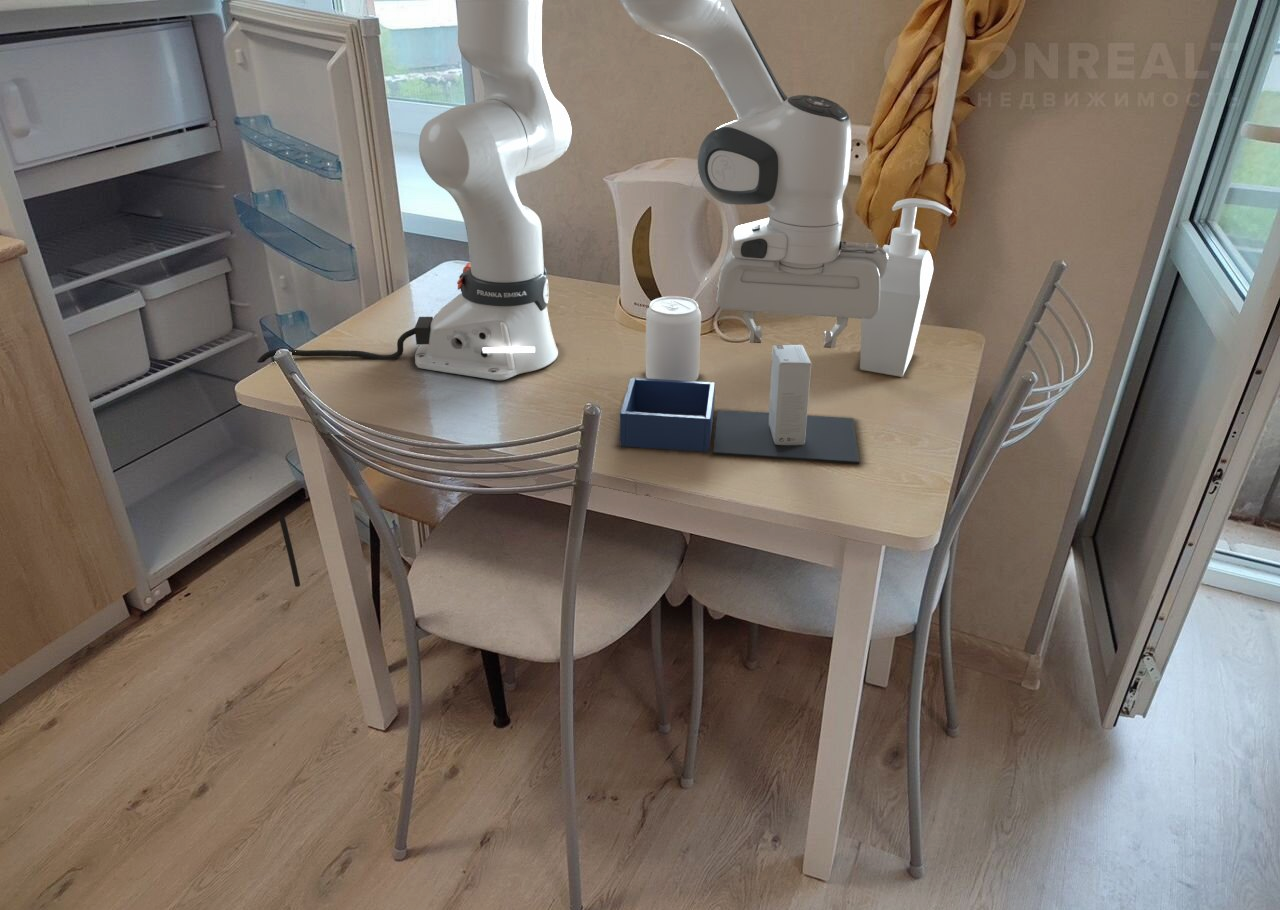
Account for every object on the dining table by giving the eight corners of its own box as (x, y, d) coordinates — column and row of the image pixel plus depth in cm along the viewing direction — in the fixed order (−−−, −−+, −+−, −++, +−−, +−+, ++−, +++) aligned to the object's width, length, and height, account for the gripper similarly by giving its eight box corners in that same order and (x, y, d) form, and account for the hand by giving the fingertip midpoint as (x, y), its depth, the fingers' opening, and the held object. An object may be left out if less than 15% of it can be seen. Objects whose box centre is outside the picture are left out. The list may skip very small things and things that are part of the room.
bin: (620, 446, 126) (619, 413, 123) (630, 408, 135) (630, 377, 132) (708, 452, 124) (710, 419, 122) (713, 413, 134) (715, 382, 131)
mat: (712, 454, 124) (712, 452, 124) (717, 412, 134) (717, 409, 134) (859, 464, 122) (859, 461, 122) (852, 420, 132) (852, 418, 132)
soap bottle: (917, 385, 142) (946, 216, 129) (851, 373, 145) (873, 207, 132) (930, 354, 152) (958, 194, 138) (868, 343, 155) (890, 186, 142)
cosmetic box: (805, 445, 125) (815, 363, 119) (772, 446, 125) (779, 363, 119) (797, 423, 131) (805, 343, 124) (765, 424, 130) (772, 343, 124)
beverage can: (664, 395, 139) (666, 319, 133) (635, 374, 145) (635, 301, 138) (709, 382, 142) (712, 308, 136) (679, 363, 148) (681, 291, 142)
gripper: (887, 236, 116) (871, 339, 123) (721, 227, 118) (715, 329, 125) (893, 252, 110) (876, 359, 118) (719, 243, 112) (712, 348, 120)
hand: (791, 343), depth 121 cm, fingers open, 8 cm apart
